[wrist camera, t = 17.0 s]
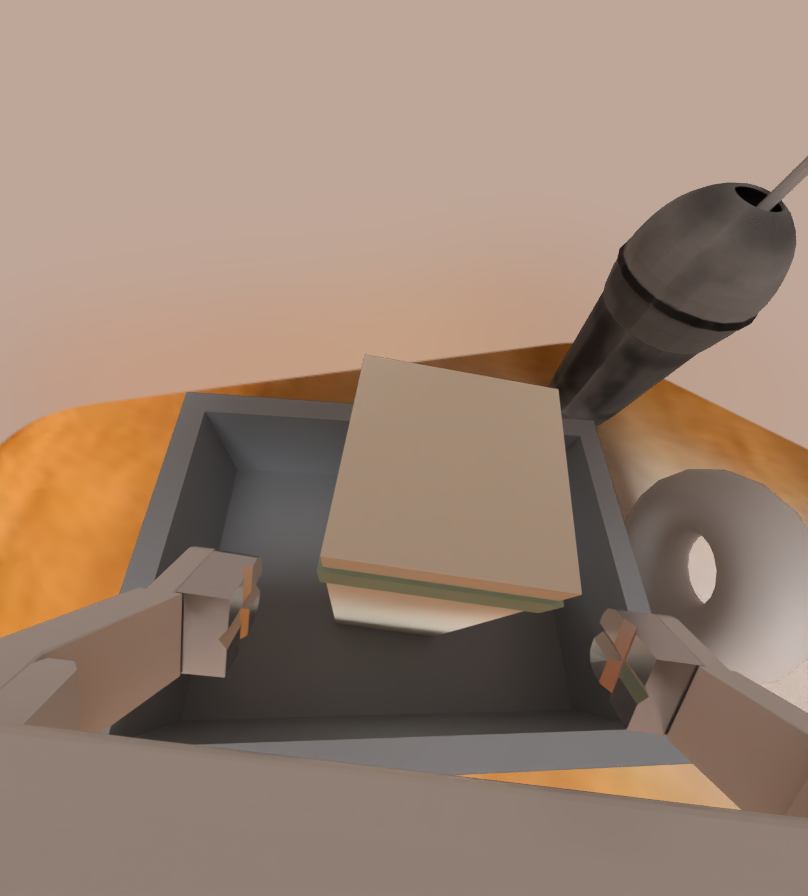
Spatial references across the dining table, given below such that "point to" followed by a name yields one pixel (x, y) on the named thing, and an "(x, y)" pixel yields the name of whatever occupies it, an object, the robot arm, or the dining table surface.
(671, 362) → the beverage cup
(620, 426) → the dining table surface
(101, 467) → the dining table surface
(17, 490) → the dining table surface
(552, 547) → the juice carton
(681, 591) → the donut
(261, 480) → the box
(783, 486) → the dining table surface
